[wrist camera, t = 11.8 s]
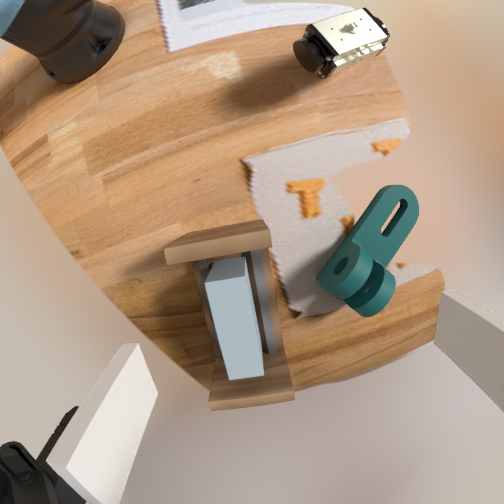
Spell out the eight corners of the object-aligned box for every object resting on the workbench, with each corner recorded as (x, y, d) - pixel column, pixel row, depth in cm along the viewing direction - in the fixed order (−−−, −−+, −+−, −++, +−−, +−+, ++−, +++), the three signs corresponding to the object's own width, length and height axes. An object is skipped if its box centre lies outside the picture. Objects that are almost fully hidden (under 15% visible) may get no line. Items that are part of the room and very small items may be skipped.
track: (187, 233, 36) (163, 249, 26) (262, 219, 36) (269, 229, 25) (219, 362, 40) (211, 410, 30) (284, 352, 40) (294, 399, 29)
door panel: (214, 261, 36) (204, 283, 27) (245, 256, 36) (244, 276, 27) (232, 342, 39) (229, 380, 30) (260, 338, 38) (264, 375, 30)
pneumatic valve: (283, 69, 32) (298, 23, 20) (346, 41, 31) (376, 0, 19) (307, 99, 33) (332, 62, 21) (368, 69, 32) (406, 35, 20)
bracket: (349, 302, 39) (370, 325, 31) (315, 277, 38) (331, 297, 30) (417, 205, 36) (449, 209, 29) (388, 175, 35) (418, 172, 28)
